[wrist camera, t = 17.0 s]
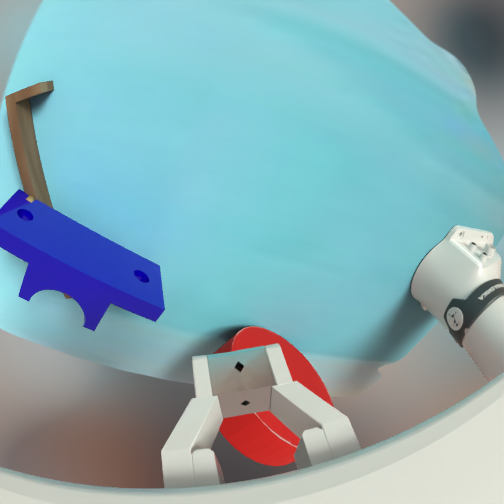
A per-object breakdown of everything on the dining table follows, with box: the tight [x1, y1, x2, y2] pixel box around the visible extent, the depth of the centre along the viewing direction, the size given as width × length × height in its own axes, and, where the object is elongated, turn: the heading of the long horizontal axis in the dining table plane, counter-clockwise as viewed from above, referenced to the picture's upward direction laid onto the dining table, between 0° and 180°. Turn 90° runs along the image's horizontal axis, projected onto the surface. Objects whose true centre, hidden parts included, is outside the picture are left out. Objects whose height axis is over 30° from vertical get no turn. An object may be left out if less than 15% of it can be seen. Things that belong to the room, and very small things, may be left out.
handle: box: [5, 81, 72, 299], centre depth 25 cm, size 4×24×4 cm, turn 1°
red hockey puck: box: [213, 326, 334, 466], centre depth 38 cm, size 20×6×20 cm, turn 47°
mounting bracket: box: [0, 189, 165, 331], centre depth 25 cm, size 18×7×6 cm
